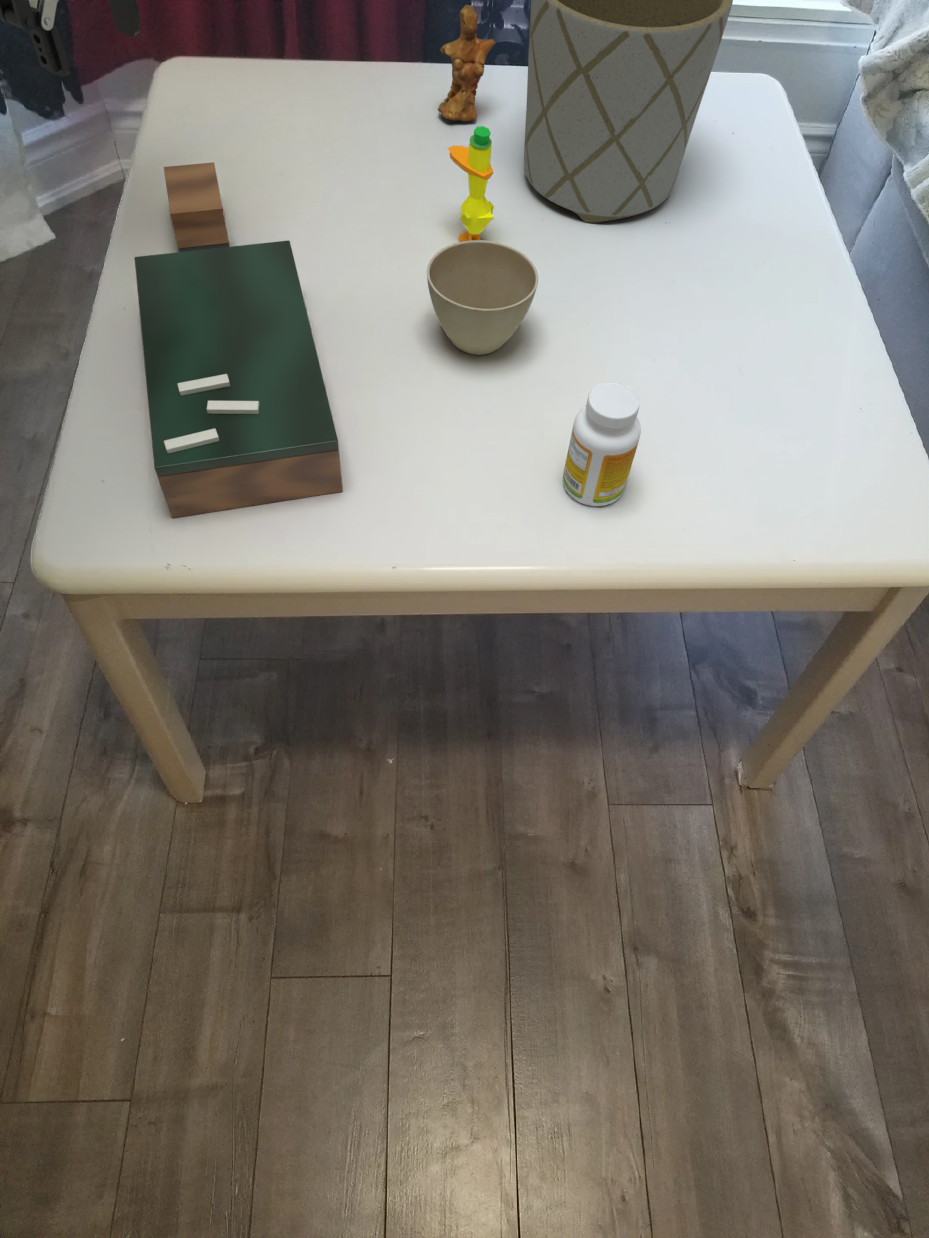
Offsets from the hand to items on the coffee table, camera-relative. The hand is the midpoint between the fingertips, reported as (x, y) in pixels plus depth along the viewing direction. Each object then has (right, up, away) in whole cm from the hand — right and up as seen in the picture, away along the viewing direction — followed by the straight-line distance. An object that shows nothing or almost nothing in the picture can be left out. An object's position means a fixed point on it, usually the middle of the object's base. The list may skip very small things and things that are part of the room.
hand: (94, 52), depth 78 cm
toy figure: (+32, -9, +18) cm, 38 cm away
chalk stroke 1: (+11, -30, -5) cm, 32 cm away
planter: (+47, +1, +25) cm, 53 cm away
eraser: (+5, -9, +16) cm, 19 cm away
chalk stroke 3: (+13, -32, -6) cm, 35 cm away
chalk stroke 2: (+11, -35, -8) cm, 38 cm away
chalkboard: (+12, -29, +3) cm, 31 cm away
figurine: (+31, +11, +31) cm, 45 cm away
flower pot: (+33, -22, +9) cm, 41 cm away
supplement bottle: (+43, -37, 0) cm, 57 cm away
